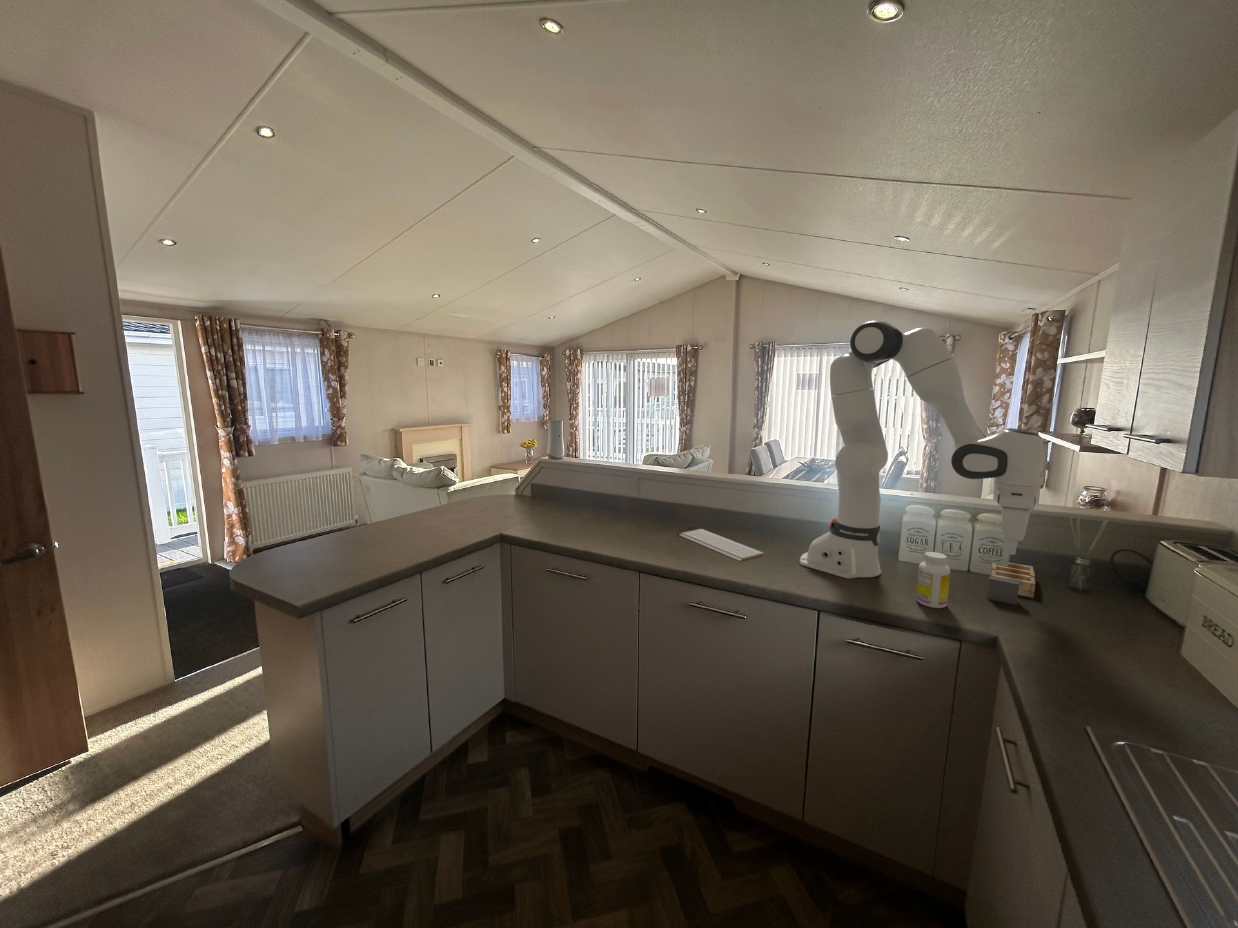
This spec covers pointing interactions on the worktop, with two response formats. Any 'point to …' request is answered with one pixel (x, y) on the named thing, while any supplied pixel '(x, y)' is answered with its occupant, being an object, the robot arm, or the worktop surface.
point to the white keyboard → (721, 544)
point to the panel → (1003, 590)
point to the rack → (1017, 577)
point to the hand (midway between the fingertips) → (1010, 548)
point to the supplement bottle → (933, 581)
